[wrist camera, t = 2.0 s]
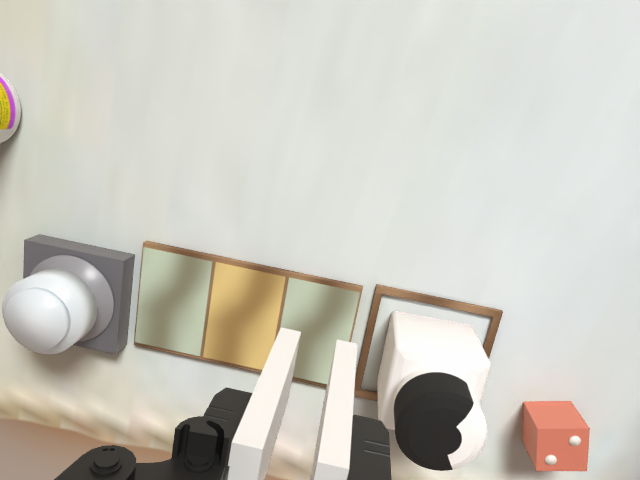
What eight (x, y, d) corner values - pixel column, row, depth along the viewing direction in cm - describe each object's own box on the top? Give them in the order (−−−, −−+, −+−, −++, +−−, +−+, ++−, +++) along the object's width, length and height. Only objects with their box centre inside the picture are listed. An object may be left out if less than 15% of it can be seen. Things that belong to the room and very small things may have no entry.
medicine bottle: (376, 380, 45) (377, 472, 33) (391, 308, 43) (399, 380, 32) (454, 396, 45) (483, 495, 33) (473, 324, 43) (511, 402, 31)
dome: (99, 277, 41) (76, 290, 38) (94, 348, 43) (72, 366, 40) (24, 261, 42) (-5, 273, 38) (22, 332, 43) (-6, 349, 40)
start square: (501, 310, 42) (502, 312, 42) (468, 418, 45) (469, 421, 45) (376, 284, 43) (376, 285, 42) (352, 393, 46) (351, 395, 45)
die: (570, 400, 44) (590, 429, 40) (568, 440, 45) (587, 471, 41) (523, 401, 44) (537, 429, 40) (522, 440, 45) (536, 471, 41)
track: (362, 285, 43) (362, 288, 42) (340, 386, 45) (340, 391, 45) (146, 240, 44) (142, 242, 43) (136, 341, 46) (132, 345, 46)
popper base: (134, 254, 44) (122, 261, 42) (126, 344, 47) (114, 355, 44) (39, 234, 45) (22, 240, 43) (36, 324, 47) (19, 334, 45)
